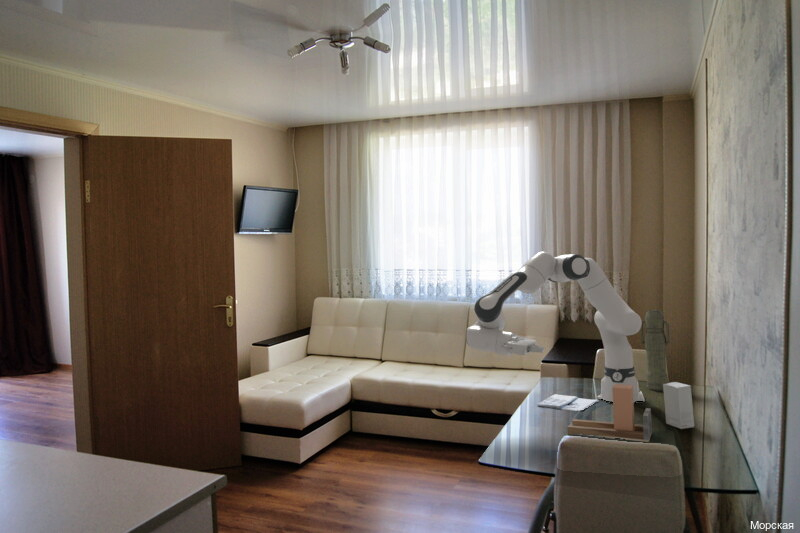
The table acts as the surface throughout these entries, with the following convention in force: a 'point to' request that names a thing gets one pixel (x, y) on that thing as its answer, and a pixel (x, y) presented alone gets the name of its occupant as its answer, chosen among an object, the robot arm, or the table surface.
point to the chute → (608, 429)
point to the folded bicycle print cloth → (566, 402)
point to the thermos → (655, 349)
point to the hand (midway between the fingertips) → (543, 350)
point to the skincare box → (678, 405)
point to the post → (623, 407)
